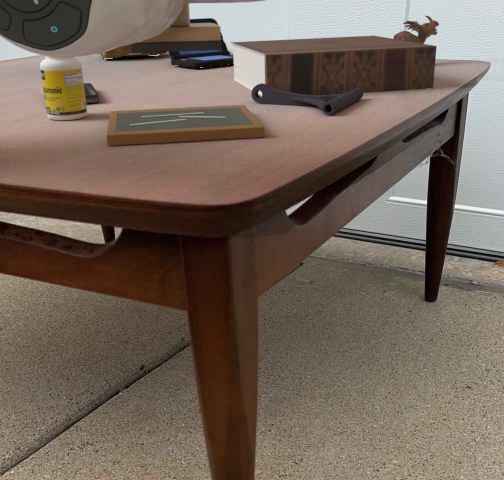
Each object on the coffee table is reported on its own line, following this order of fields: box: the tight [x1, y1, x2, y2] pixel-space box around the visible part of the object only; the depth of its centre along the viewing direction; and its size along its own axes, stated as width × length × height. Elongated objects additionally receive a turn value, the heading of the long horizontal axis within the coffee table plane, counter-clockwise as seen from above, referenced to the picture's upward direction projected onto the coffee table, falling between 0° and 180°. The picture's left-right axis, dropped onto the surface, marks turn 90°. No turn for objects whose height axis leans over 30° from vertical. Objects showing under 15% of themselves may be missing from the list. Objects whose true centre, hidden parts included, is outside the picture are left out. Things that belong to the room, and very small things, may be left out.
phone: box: [84, 82, 100, 104], centre depth 110 cm, size 8×1×15 cm
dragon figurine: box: [392, 15, 440, 44], centre depth 138 cm, size 14×6×9 cm, turn 136°
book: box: [230, 35, 438, 96], centre depth 118 cm, size 24×28×7 cm
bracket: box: [250, 83, 364, 116], centre depth 99 cm, size 14×15×3 cm
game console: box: [168, 17, 234, 69], centre depth 148 cm, size 16×14×9 cm
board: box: [106, 104, 266, 147], centre depth 86 cm, size 18×16×1 cm
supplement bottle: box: [39, 56, 88, 121], centre depth 93 cm, size 5×5×10 cm
